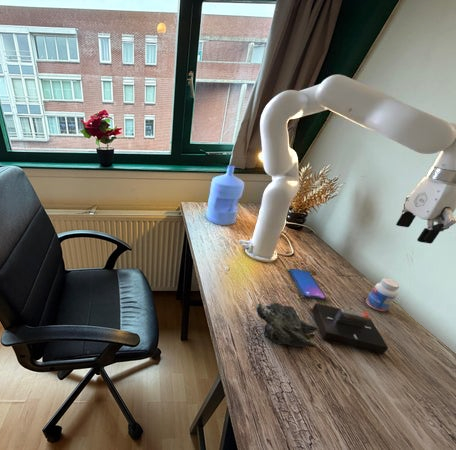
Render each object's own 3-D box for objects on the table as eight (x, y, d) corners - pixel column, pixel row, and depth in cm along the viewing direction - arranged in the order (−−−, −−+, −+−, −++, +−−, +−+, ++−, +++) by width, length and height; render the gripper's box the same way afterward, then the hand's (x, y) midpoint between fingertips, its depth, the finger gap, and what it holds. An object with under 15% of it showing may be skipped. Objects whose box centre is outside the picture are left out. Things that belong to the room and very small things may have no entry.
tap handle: (336, 322, 68) (342, 311, 66) (334, 317, 69) (340, 306, 67) (363, 328, 67) (370, 317, 65) (360, 324, 68) (367, 313, 66)
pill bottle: (361, 299, 81) (375, 276, 77) (375, 298, 82) (390, 276, 77) (375, 312, 76) (391, 288, 72) (390, 311, 77) (407, 288, 72)
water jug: (199, 214, 132) (208, 163, 119) (222, 211, 138) (233, 161, 125) (217, 228, 120) (229, 171, 107) (242, 223, 126) (255, 169, 113)
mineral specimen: (274, 348, 57) (284, 306, 58) (241, 327, 69) (250, 293, 70) (322, 359, 61) (331, 319, 62) (282, 338, 73) (290, 304, 74)
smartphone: (308, 270, 92) (328, 299, 79) (308, 272, 92) (326, 301, 79) (288, 268, 93) (304, 295, 79) (287, 270, 93) (303, 297, 80)
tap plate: (322, 339, 66) (327, 331, 65) (311, 309, 76) (315, 302, 74) (382, 355, 63) (388, 347, 62) (363, 322, 73) (368, 314, 71)
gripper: (410, 166, 71) (381, 219, 79) (458, 184, 56) (416, 246, 64) (441, 169, 70) (408, 223, 78) (499, 188, 55) (451, 252, 63)
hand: (412, 233), depth 71 cm, fingers open, 9 cm apart
